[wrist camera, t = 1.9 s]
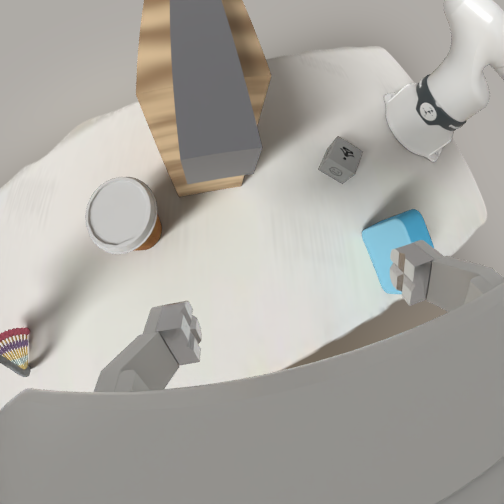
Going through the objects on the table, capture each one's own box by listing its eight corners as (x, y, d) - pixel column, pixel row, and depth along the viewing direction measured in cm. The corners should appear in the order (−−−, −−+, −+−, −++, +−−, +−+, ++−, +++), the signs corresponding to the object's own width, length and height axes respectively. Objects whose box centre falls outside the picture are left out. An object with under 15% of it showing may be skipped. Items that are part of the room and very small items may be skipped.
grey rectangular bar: (253, 173, 16) (262, 147, 13) (187, 184, 16) (180, 160, 12) (212, 3, 18) (214, -23, 14) (172, 8, 17) (169, -18, 14)
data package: (400, 282, 45) (445, 281, 33) (383, 293, 44) (427, 296, 32) (377, 222, 45) (418, 206, 34) (358, 231, 45) (399, 216, 33)
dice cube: (350, 162, 46) (362, 151, 41) (342, 184, 45) (354, 174, 40) (327, 148, 46) (337, 136, 41) (317, 169, 45) (328, 158, 40)
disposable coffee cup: (110, 255, 39) (74, 245, 27) (122, 197, 40) (93, 170, 29) (165, 265, 40) (145, 259, 28) (177, 205, 41) (163, 177, 30)
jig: (241, 186, 43) (282, 38, 13) (179, 196, 42) (122, 57, 12) (222, 93, 44) (235, -48, 15) (169, 102, 43) (142, -37, 13)
